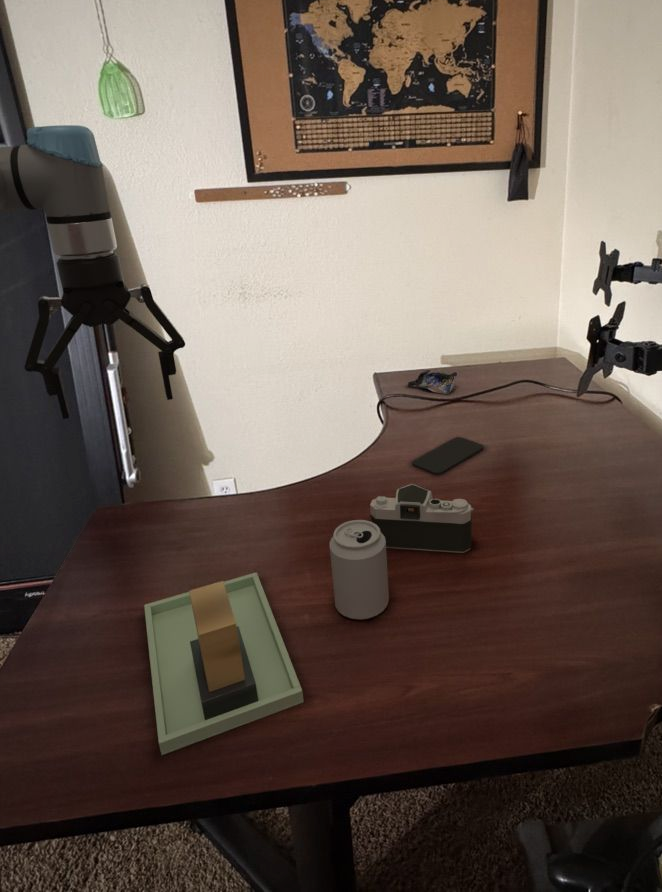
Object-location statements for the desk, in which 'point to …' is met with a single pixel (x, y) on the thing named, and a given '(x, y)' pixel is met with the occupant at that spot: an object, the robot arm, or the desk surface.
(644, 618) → the desk surface
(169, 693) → the tray
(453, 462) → the phone
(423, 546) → the camera
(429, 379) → the snack package
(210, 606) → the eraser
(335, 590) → the can
